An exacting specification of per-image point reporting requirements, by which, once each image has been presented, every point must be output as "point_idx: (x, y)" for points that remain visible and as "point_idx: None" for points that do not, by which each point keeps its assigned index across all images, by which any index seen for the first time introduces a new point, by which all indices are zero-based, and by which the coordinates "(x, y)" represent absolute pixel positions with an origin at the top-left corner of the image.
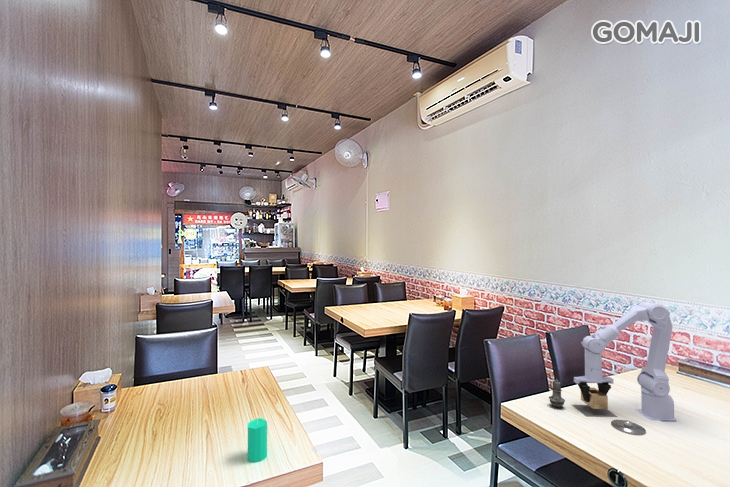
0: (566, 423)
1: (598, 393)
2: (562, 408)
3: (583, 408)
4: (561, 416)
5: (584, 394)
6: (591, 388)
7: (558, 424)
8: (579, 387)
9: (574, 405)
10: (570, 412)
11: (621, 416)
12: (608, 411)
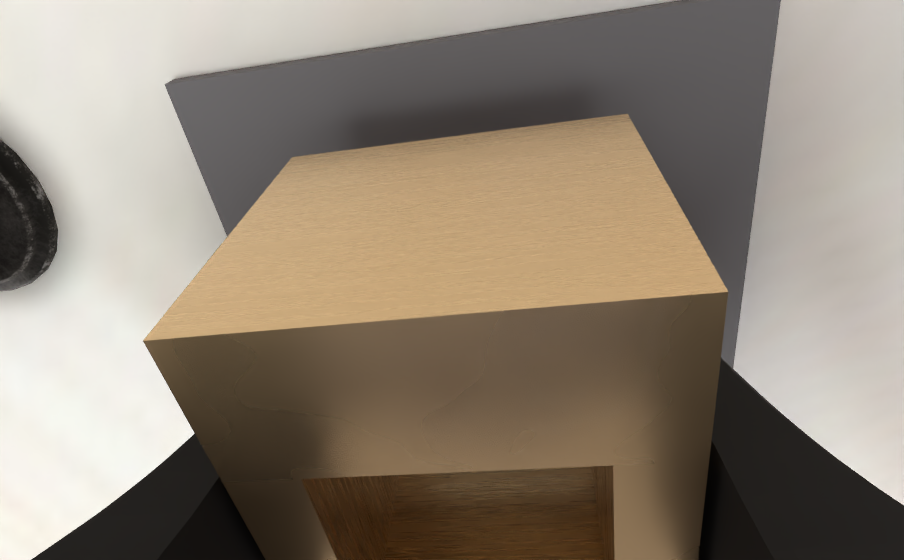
0: (85, 518)
1: (608, 514)
2: (19, 263)
3: None
4: (32, 414)
5: None
6: (535, 381)
7: (17, 534)
8: (48, 553)
9: (216, 110)
10: (138, 315)
11: (821, 341)
12: (717, 263)
